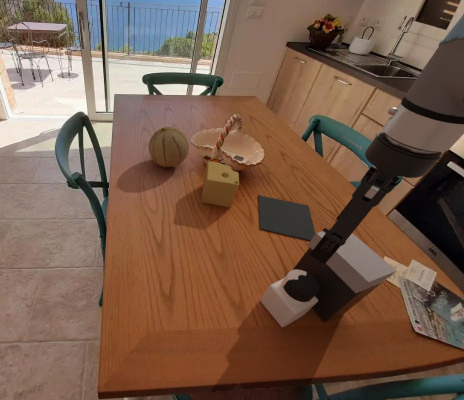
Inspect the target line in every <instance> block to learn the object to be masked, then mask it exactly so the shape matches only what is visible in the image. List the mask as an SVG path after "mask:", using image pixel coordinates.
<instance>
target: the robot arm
mask: <svg viewBox="0 0 464 400" xmlns="http://www.w3.org/2000/svg"><path fill="white" fill-rule="evenodd" d="M387 114H388V115H391V116H390V117H389V118H388V119H387V120H386V122H385V124H384V125H383V127H382V131H379V132H378V133H377V134H376V135H375V137H374V138H373V140H372V141H371V143H370V144H369V145H368V147H367V148H366V150H365V152H364V157H365V159H366V160H367V162H369V164H370V165H371V166H370V167H369V168H368V170H367V171H366V173H365V174H364V175H363V176H362V178H361V179H360V183H359V185H358V186H357V187H356V189H355V190H354V192H353V193H352V194H351V198H350V200H349V201H348V203H347V204H346V205H345V207H344V208H343V209H342V211H341V212H340V213H339V214H338V216H337V217H336V218H335V222H334V224H333V225H332V226H331V227H330V228H326V227H324V228H323V229H322V231H323V232H325V233H326V234H325V235H324V236H323V238H322V239H321V240H320V241H319V243H318V244H317V245H316V247H315V248H314V249H313V250H312V252H311V253H310V254H309V255H310V256H312V257H313V258H315V259H317V260H318V261H320V262H321V263H323V264H326V262H327V261H328V260H329V259H330V258H331V257H332V255H333V254H334V253H335V252H336V251H337V250H338V249H339V247H340V246H343V245H344V244H345V243H346V240H347V239H348V238H349V236H350V235H351V234H352V233H353V234H354V232H355V231H356V229H357V228H358V227H359V225H360V224H361V223H362V222H363V221H364V219H365V218H366V217H367V216H368V214H370V212H371V210H372V209H373V208H376V207H377V206H378V205H379V204H380V203H381V202H382V201H383V199H384V198H385V197H386V195H388V194H390V193H391V192H392V191H393V190H394V188H395V187H396V186H397V185H398V182H399V180H400V179H401V177H402V178H406V179H416V178H417V179H418V178H420V177H423V176H425V175H426V174H427V173H428V172H429V171H430V170H431V169H432V168H433V167H434V166H435V165H436V163H438V161H440V159H442V157H443V152H448V151H449V150H450V149H451V148H453V146H454V145H455V144H456V143H457V142H458V141H459V140H460V139H461V138H462V136H464V13H463V14H462V16H460V18H459V20H457V22H456V23H455V24H454V26H453V27H452V28H451V30H450V31H449V32H448V33H447V35H446V36H445V37H444V38H443V39H442V40H440V41H439V43H438V47H437V48H436V50H435V51H434V52H433V54H432V56H431V57H430V58H429V60H428V61H427V62H426V64H425V65H424V67H423V69H422V70H421V72H420V73H419V75H418V76H417V78H416V79H415V80H414V82H413V83H412V85H411V86H410V88H409V89H408V91H406V93H405V95H404V96H403V98H402V99H401V101H400V103H399V104H398V105H397V107H395V106H394V107H393V106H392V107H390V108H388V110H387ZM328 229H329V230H328Z"/></svg>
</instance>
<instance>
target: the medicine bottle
mask: <svg viewBox="0 0 464 400" xmlns="http://www.w3.org/2000/svg"><path fill="white" fill-rule="evenodd" d="M318 291H319V286H318V283H317V281H316V280H315V278H314V277H313V276H312V275H310V274H309V273H307V272H305V271H303V270H297V269H295V270H293V269H291V270H290V271H289V272H287V274H286V275H285V276H284V277H283V278H281V279H279V280H277V281H275V282H273V283H271V284H270V285H269V286H268V288H267V289H266V290H265V291H264V293H263V294H262V296H261V297H260V299H259V302H260V303H261V305H263V307H264V308H265V309H266V310H267V311H268V313H269V314H270V315H271V316H272V318H274V320H275V321H276V322H277V323H278V325H279V326H280V327H281V328H285V327H287V326H289V325H290V324H292V323H294V322H295V321H297V320H299V319H300V318H301V317H303V316H305V315H306V314H307V313H308V312H309V311H310V310H311V309H313V308H312V307H313V306H314V305H315V304H316V303H317V302H318V299H317V298H316V297H315V295H316V294H317V293H318Z"/></svg>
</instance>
